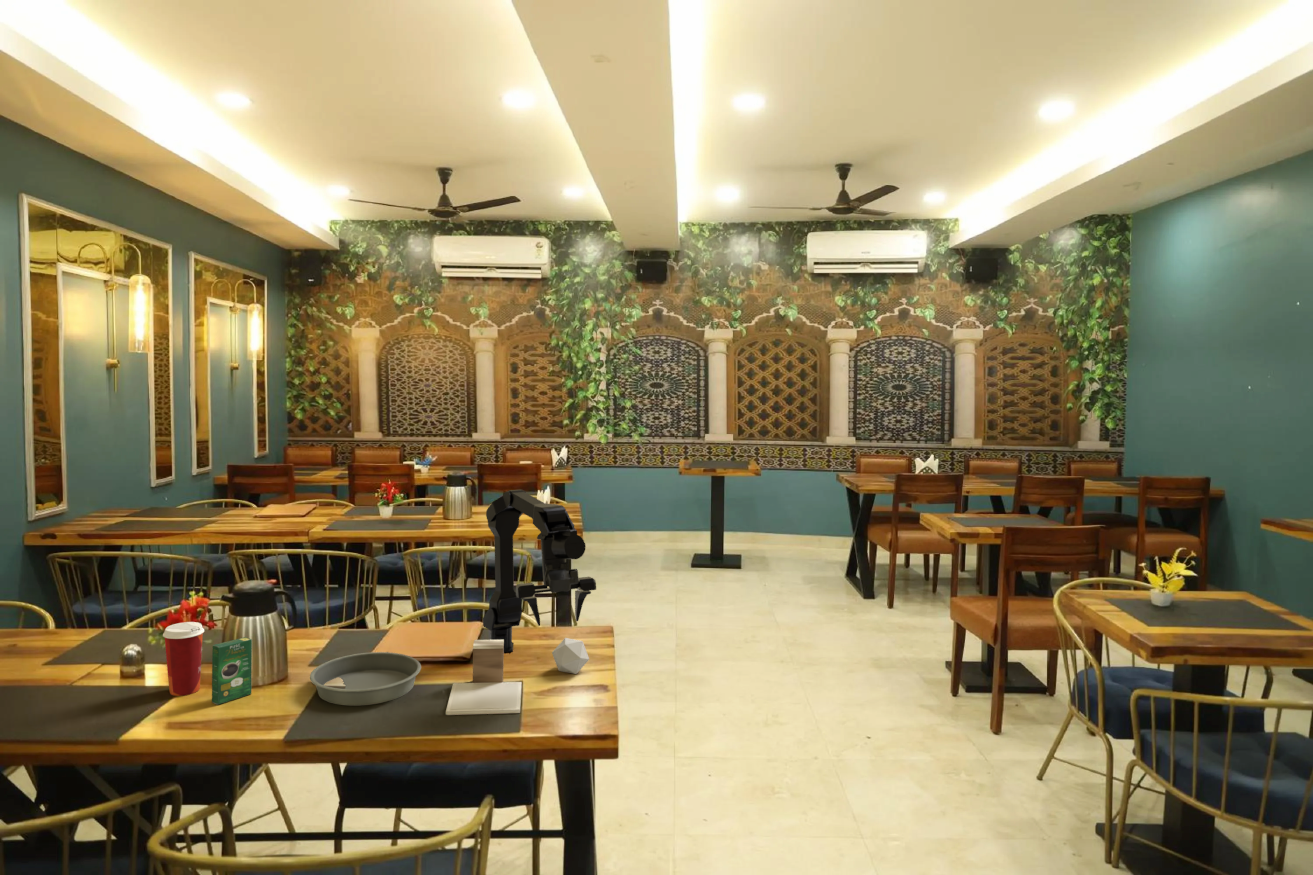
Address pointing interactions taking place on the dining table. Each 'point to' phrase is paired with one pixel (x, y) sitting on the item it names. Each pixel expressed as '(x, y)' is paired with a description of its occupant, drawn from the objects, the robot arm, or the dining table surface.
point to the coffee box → (231, 670)
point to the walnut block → (488, 661)
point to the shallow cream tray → (484, 698)
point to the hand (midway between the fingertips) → (558, 623)
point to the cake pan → (366, 678)
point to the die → (570, 656)
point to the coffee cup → (184, 657)
